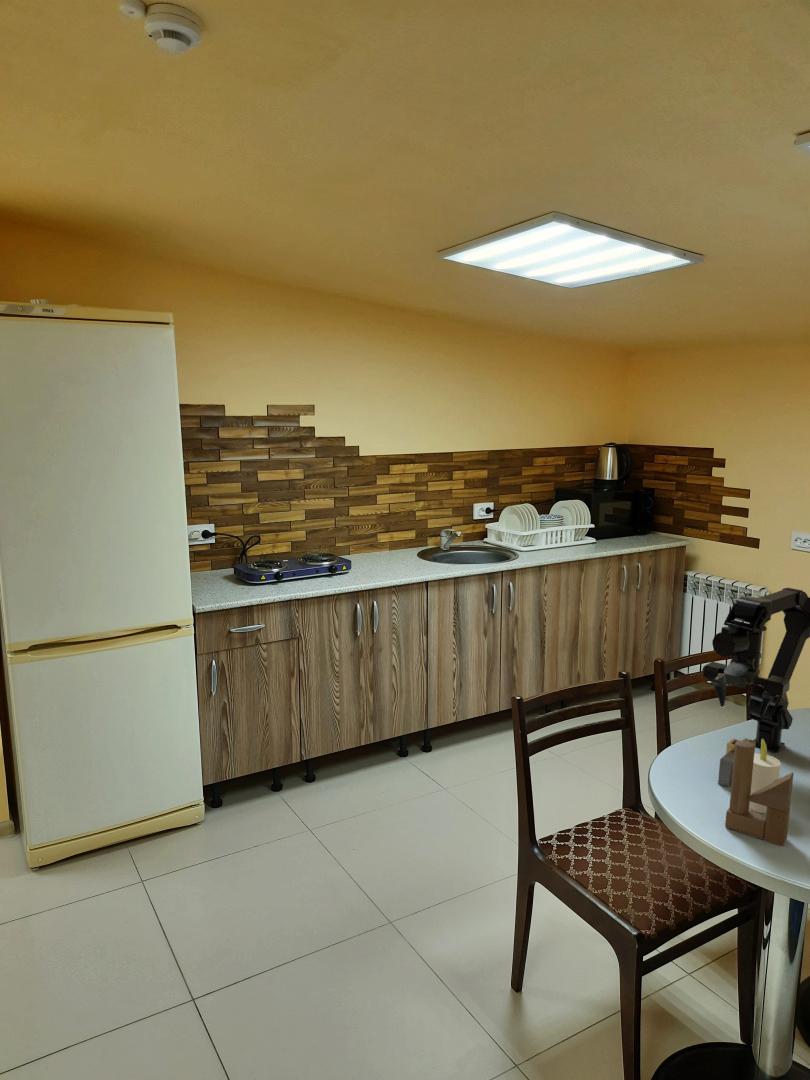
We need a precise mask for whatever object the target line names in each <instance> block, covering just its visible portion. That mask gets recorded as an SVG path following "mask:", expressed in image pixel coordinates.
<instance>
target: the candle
mask: <svg viewBox="0 0 810 1080" xmlns="http://www.w3.org/2000/svg"><path fill="white" fill-rule="evenodd" d="M781 764H782V763H781V761H780V760H779V759H777V758H776V757H774V756H772V755H769V754H768V750H767V747H766V743H765V741H764V739H762V740H761V748H760V753H756V752H755V753H754V763H753V773H752V783H751V794H752V793H754V792H756V791H758V790H759V789H761V788H763V787H765V786H767V785H769V784H771V783H773V782H775V781H777V780H779V779H780V771H781ZM751 794H750V796H751ZM749 811H752V812H756V813H759V814H765V815H766V811H767V806H764V805H760V804H757V803H754V802H750V804H749Z"/></svg>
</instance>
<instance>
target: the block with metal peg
mask: <svg viewBox="0 0 810 1080" xmlns="http://www.w3.org/2000/svg"><path fill="white" fill-rule="evenodd" d="M735 743H736V742H735ZM734 753H735V752H731V751H729V752H728V753H727V754H726V753H725V754H724V755H723V756H722V757H721V758H720V759H719V768H718V780H717V784H718V785H720V786H724V787H727V788H731V785H732V774H733V764H734Z"/></svg>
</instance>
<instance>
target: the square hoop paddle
mask: <svg viewBox="0 0 810 1080" xmlns="http://www.w3.org/2000/svg"><path fill="white" fill-rule="evenodd" d="M753 740H754V739H749V738H747V737H745V738H744V739H742V740H739V739H735V738H732V739H731V740H730V741H728V742H727V743H726V750H725V751H726V753H725V755H726V754H727V753H728V752H729V751H731V752H735V742H737V741H747V742H750V743H752V744H754V746H755V743H756V741H753ZM755 747H756V746H755ZM754 754H756V751H755V752H754Z"/></svg>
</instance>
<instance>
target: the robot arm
mask: <svg viewBox="0 0 810 1080" xmlns="http://www.w3.org/2000/svg"><path fill="white" fill-rule="evenodd" d="M730 608H731V609H730V610H729V612H728V614H727V616H726V618H725V620H724V623H723V625H724V626H722V627H721V631H720V632H718V633H716V634H715V635H714V636H713V638H712V641H711V642H712V644H711V645H712V648H713V650H714V651H715V653H717V655H718V656H721V657H724V658H727V657H731V660H730V662H729V664H727V665H726V664H725V663H721V662H715V661H710V662H709V663H707V664H705V665H704V666H703V667H702V669H701V676H702V677H703V678H706V680H707V681H708V682H710V683H711V684H712V685H713V687H714V688H715V691H716V694H717V697H718V701H719V704H720V706H721V707H724V706H725V703H726V697H727V696H726V695H727V694H726V693H727V686H734V687H737V688H739V689H745V688H746V687H747V685H749V684H750V685H755V686H754V687H753V690H752V693H751V695H750V697H749V699H748V701H747V710H748V717H749V718H748V719H750V720H753V721H756V722H757V723H756V724H757V725H756V734H755V738H754V739H752V740H753V741H756V743H755V747H758V748H760V749H761V740H762V739H764V741H765V743H766V747H767V751H770V752H774V753H779V751H780V750H782V749H783V747H785V745H786V743H785V742H783V741H782V733H783V730H790V727H791V726H792V724H793V719H794V718H793V716H792V714H791V713H790V711H789V710H788V707H789V699H788V696H787V695H788V694H787V692H788V691H790V684H791V683H790V681H791V678H792V676H793V674H794V671H795V668H796V666H797V664H798V662H799V659H800V656H801V654H802V651H803V648H804V646H805V644H806V641H807V640H808V639H809V638H810V596H808V594H807V593H806V592H805V591H803V590H802V589H796V588H792V587H784V588H782V589H781V590H779V591H776V592H773V593H769V594H767V595H764V596H759V597H754V596H740V597H738V598H737V599H736V600H735V601H734V602H733V604H732V606H731V607H730ZM781 612H782V613H783V614H784V617H783V624H784V627H785V634H784V636H783V638H782V642H781V644H780V646H779V649H778V651H777V654H776V656H775V659H774V660H773V663H772V666H771V668H770V671H769V673H768V676H767V678H766V677H762V676H759V675H760V672H761V670H760V660H761V658H762V653H761V650H762V641H763V639H762V638H763V632H766V631H767V627H766V626H765V624H766V623H768V622H770V621H771V620H772V619H771V618H772V616H773V615H775V614H778V613H781Z"/></svg>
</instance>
